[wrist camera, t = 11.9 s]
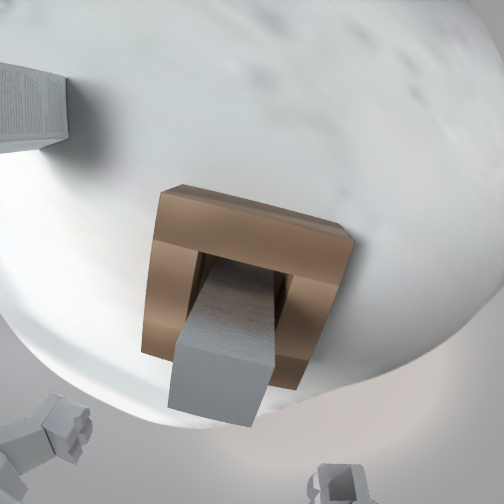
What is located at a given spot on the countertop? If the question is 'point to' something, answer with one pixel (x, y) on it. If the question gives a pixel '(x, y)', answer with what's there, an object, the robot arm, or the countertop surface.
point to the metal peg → (226, 345)
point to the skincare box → (31, 109)
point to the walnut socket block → (247, 251)
